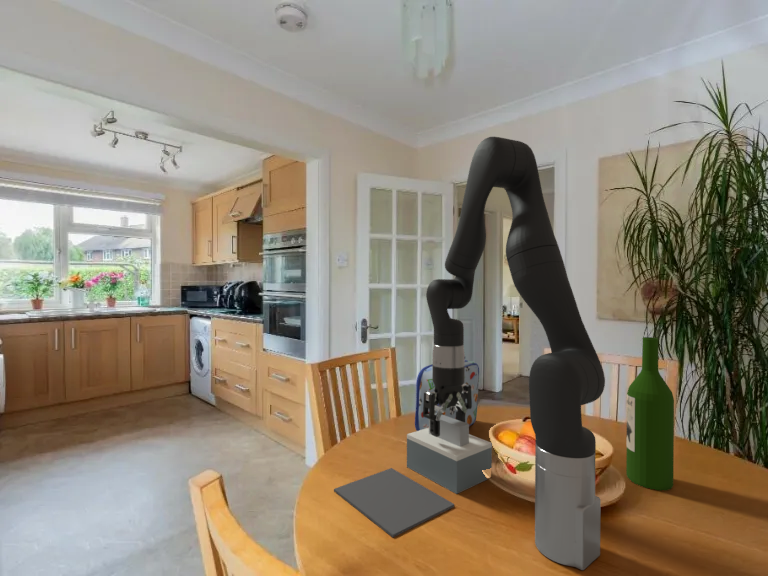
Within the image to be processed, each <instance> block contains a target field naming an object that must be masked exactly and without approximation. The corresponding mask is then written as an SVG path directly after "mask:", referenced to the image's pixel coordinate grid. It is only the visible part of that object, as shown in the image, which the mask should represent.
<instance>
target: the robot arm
mask: <svg viewBox="0 0 768 576" xmlns="http://www.w3.org/2000/svg"><path fill="white" fill-rule="evenodd" d="M537 163H538V162H537V160H536V156H535V154H534V152H533V150H532V147H530V146H529V144H527V143H525V142H523V141H519V140H516V139H510V138H505V137H499V136H488V137H487V138H484V139H482V141H481V142H480V143H479V144H478V145H477V147H476V149H475V150H474V154H473V156H472V159H471V163H470V166H469V170H468V174H467V175H468V176H467V179H466V183H465V184H466V185H465V189H464V194H463V198H462V205H461V208H460V215H459V219H458V224H457V227H456V231H455V233H454V236H453V240H452V243H451V245H450V247H449V250H448V252H447V256H446V258H445V261H444V268H445V270H446V272H447V273H449V274H450V275H452V276H453V277H454V279H453V278H451V279H448V278H447V279H443V278H442V279H441V278H440V279H439V278H438V279H434V280H432V281H431V282H430V283H429V284H428V286H427V289H426V302H427V306H428V310H429V314H430V319H431V321H432V325H433V349H432V364H433V374H432V381H433V383H434V385H435V389H434V392H428V391H425V392H424V403H423V417H425V418H428V419H430V433H431V434H432V435H433V436H435V437H438V436H440V421H439V419H440V417H441V415H442V413H444V412H445V410H446V408H449V407H451V406H454V407H455V408H456V410H457V412H456V420H459V421H462V422H465V413H466V412H467V410H468V409H471V408H472V397H471V385H468V384H464V382H465V360H466V356H465V355H466V354H465V348H464V347H465V346H464V343H465V342H464V341H465V339H464V336H465V335H464V333H465V332H464V331H465V330H464V322H462V321H461V320H460V319H456V318H451V316H450V314H449V311H448V310H457V309H463V308H465V307H467V305H469V303H470V302H471V300H472V297H473V291H474V281H475V273H476V269H477V268H478V265H479V262H480V260H481V258H482V256H483V253H484V251H485V247H486V243H487V242H486V241H487V229H486V223H485V208H486V204H487V201H488V198H489V197H490V194H491V192H492V191H493V188H500V189H504V190H505V192H506V195H507V198H508V200H509V204H510V207H511V208H510V209H511V213H512V220H511V224H510V229H509V231H508V235H507V238H506V244H505V245H506V246H505V257H506V261H507V265H508V268H509V272H510V276H511V280H512V283H513V285H514V287H515V289H516V291H517V292H518V294H519V295H520V297H521V299H523V302H525V304H526V305H527V307H528V308H530V310H531V311H532V313H533V314H534V315H535V317H536V318H537V319H538V320H539V322H540V324H541V325H542V327H543V329H544V332H545V335H546V336H547V337H546V338H547V341H548V344H549V347H550V351H551V352H548V353H545V354H542V355H539V356H538V357H537V358H536V359H535V360H534V362H533V363H532V365H531V367H530V371H529V377H528V393H529V395H528V396H529V397H528V398H529V416H530V423H531V427H532V431H533V432H534V435H535V449H534V450H535V451H534V452H535V454H534V455H535V456H534V457H535V460H534V461H535V462H534V463H535V467H534V468H535V469H534V472H535V473H534V476H535V477H534V480H535V481H534V487H535V488H534V521H535V522H534V545H535V547H536V548H537V550H538V551H539V552H540V554H542V555H544V556H545V557H546V558H547V559H549V560H551V561H552V562H554V563H555V562H556V564H557V563H558V564H561V565H564V566H569V567H574V568H576V569H579V570H581V571H584V570H585V569H586V568H588V567H589V566H590V565H591V564H592V563H593V562H594V561H596V559H597V558H599V557H600V556H601V500H602V499H601V497H599V496H597V495H596V448H597V445H596V435H595V434H594V432H592V430H590V429H589V428H587V427H585V426H583V420H582V406H584V405H588V404H590V403H593V402H595V401H597V400H598V399H599V398H600V397H601V396H602V394H603V392H604V390H605V387H606V386H605V384H606V379H605V378H606V377H605V373H604V369H603V366H602V363H601V361H600V357H599V356H598V354H597V351H596V348H595V346H594V345H593V343H592V340H591V338H590V336H589V333H588V331H587V328H586V327H585V325H584V321H583V319H582V317H581V314H580V311H579V308H578V304H577V302H576V298H575V294H574V292H573V290H572V287H571V284H570V281H569V276H568V275H567V271H566V266H565V262H564V259H563V256H562V253H561V250H560V246H559V243H558V242H557V239H556V237H555V232H554V230H553V227H552V222H551V220H550V216H549V213H548V209H547V206H546V202H545V199H544V194H543V189H542V185H541V184H542V183H541V179H540V175H539V167H538V164H537ZM465 399H467V403H466V400H465ZM438 404H439V405H440V406H441V407H439V406H437V405H438ZM428 408H429V413H428ZM436 411H438V412H437V414H436V415H435V413H436Z"/></svg>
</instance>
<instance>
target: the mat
mask: <svg viewBox="0 0 768 576" xmlns="http://www.w3.org/2000/svg"><path fill="white" fill-rule="evenodd" d="M333 492H334V493H335V492H336V495H338V496H339V497H340V498H342V499H343V500H344V501H346V502H347V503H348V504H350V505H351V506H352V507H353V508H354V509H356V510H357V511H358V512H360V513H361V514H362V515H363V516H364V517H366V518H367V519H369V521H371V522H372V523H373V524H375V525H376V526H377V527H379V528H380V529H381V530H382V531H383V532H385V533H386V534H387V535H389V536H390V537H391V538H395V537H398V536H399V535H400V534H403V533H405V532H407V531H409V530H411V529H413V528H415V527H417V526H419V525H421V524H423V523H425V522H427V521H428V520H431V519H432V518H434V517H436V516H439V515H440V514H443V513H444V512H447V511H449V510H451V509H453V508H455V503H453V502H452V501H449V500H448V499H446V498H445V497H443V496H442V495H440V494H438V493H435V492H434V491H433V490H431V489H429V488H427V487H426V486H423V485H422V484H421V483H418V482H417V481H415V480H413V479H411V478H410V477H408V476H406V475H405V474H403V473H401V472H399V471H398V470H396V469H394V468H392V467H390V468H387V469H385V470H382V471H380V472H377V473H374V474H371V475H369V476H366V477H363V478H360V479H357V480H355V481H352V482H351V481H350V482H349V483H346V484H343V485H341V486H338V487H335V488H333Z"/></svg>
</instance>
